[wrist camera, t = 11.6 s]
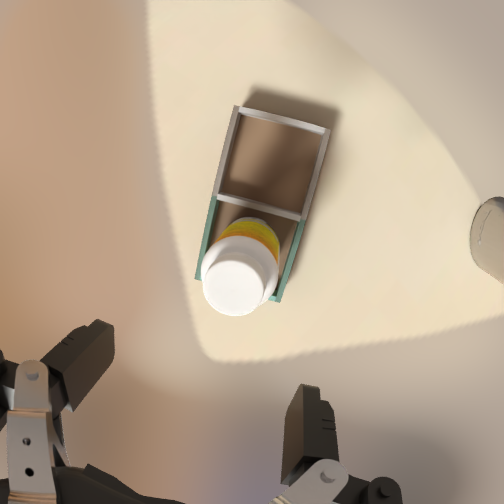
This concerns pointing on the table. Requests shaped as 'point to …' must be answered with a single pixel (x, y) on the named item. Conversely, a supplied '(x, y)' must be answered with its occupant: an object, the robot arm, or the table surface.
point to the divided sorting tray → (266, 180)
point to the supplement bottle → (241, 267)
